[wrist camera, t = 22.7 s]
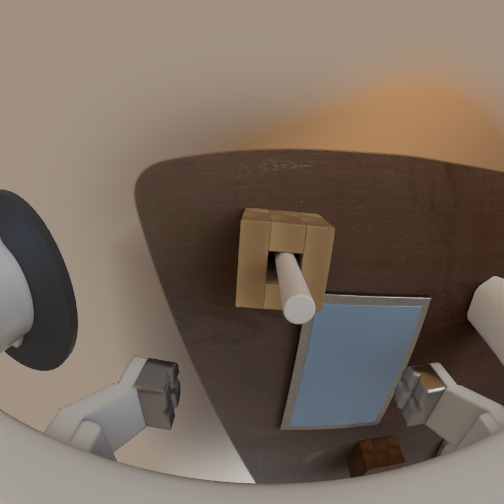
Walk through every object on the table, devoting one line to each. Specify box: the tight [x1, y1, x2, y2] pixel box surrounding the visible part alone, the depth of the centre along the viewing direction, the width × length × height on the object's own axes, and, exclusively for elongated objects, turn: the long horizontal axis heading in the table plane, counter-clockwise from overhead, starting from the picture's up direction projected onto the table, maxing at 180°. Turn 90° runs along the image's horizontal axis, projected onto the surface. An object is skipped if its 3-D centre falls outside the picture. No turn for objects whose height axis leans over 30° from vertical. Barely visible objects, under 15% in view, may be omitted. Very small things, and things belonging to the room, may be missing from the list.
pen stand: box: [347, 436, 406, 478], centre depth 32 cm, size 6×6×6 cm
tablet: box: [280, 291, 431, 430], centre depth 29 cm, size 14×20×1 cm
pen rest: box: [236, 208, 335, 312], centre depth 23 cm, size 6×6×6 cm
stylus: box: [274, 251, 316, 324], centre depth 19 cm, size 1×1×14 cm
